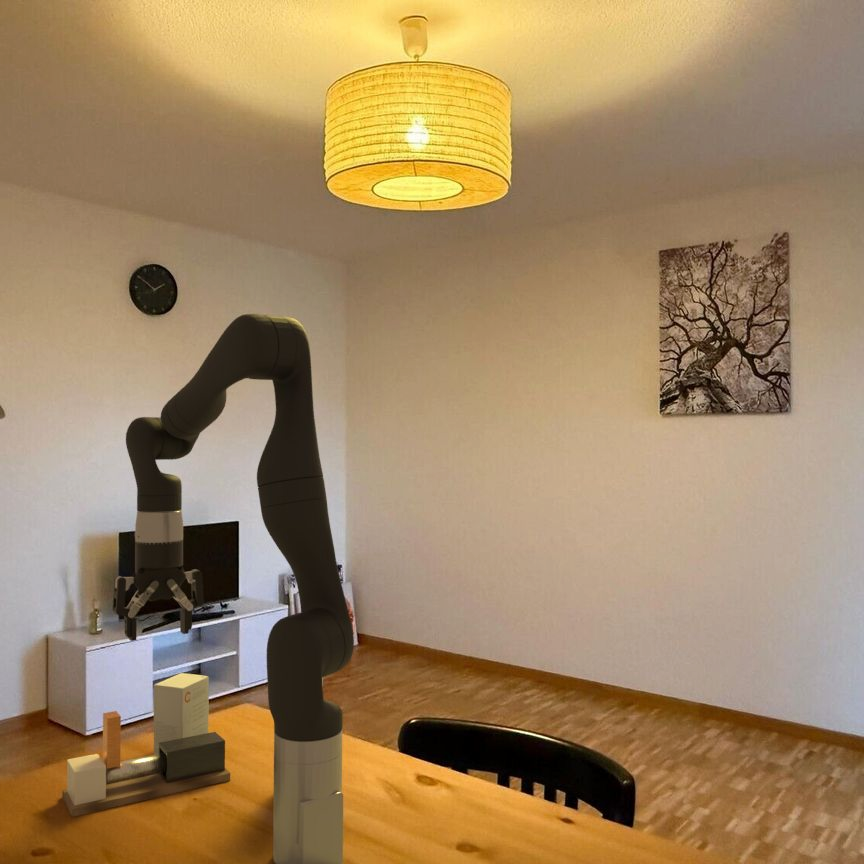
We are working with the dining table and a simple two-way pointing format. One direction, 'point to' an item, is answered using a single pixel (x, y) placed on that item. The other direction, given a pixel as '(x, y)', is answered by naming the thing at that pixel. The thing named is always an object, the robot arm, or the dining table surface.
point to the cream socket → (86, 779)
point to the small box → (180, 708)
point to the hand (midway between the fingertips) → (159, 636)
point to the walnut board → (142, 791)
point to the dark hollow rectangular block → (193, 756)
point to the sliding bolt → (127, 768)
